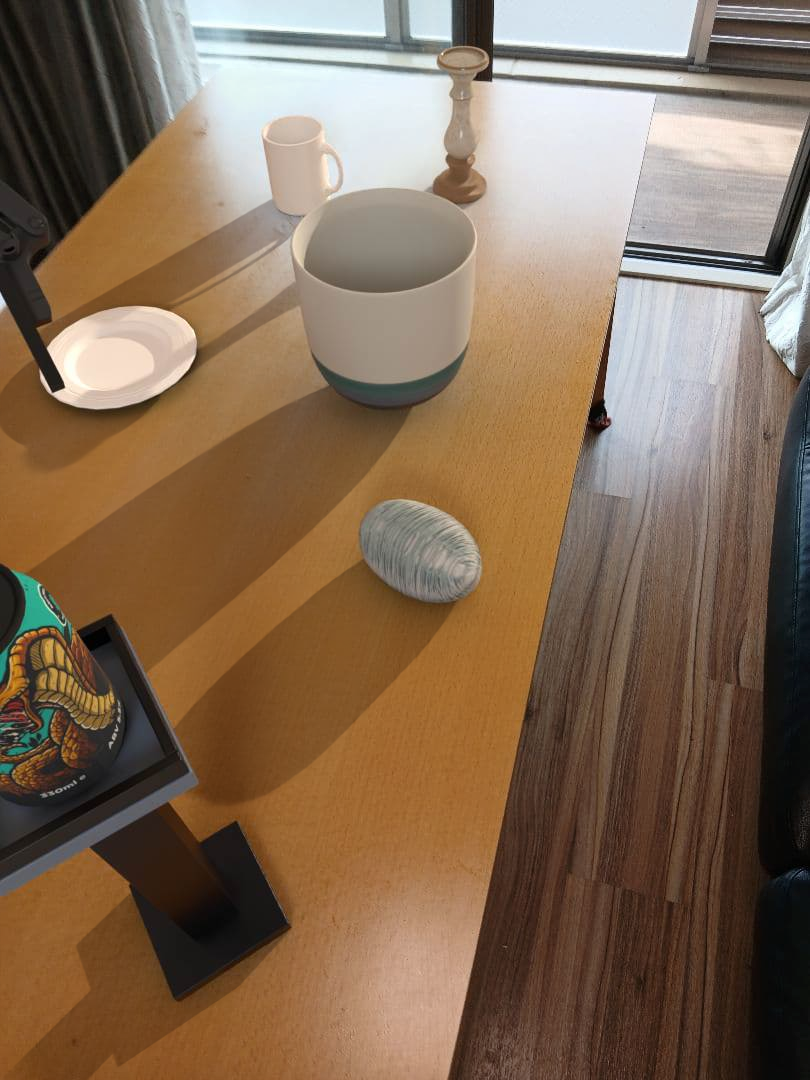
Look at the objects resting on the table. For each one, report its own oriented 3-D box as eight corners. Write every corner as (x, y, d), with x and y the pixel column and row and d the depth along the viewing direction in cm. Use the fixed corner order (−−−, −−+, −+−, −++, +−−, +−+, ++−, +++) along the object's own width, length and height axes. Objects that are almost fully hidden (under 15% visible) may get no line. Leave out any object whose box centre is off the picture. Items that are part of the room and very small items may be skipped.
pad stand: (178, 1002, 64) (-28, 880, 35) (133, 889, 69) (-79, 703, 41) (292, 928, 67) (185, 760, 38) (240, 825, 72) (112, 610, 44)
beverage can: (113, 813, 39) (6, 701, 29) (-32, 812, 39) (-185, 699, 29) (145, 679, 43) (60, 543, 33) (14, 679, 43) (-107, 543, 33)
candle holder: (497, 187, 134) (505, 54, 118) (462, 210, 130) (465, 75, 114) (457, 169, 138) (460, 38, 121) (422, 190, 134) (419, 58, 118)
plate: (39, 431, 103) (33, 420, 101) (48, 328, 115) (43, 317, 114) (204, 403, 105) (201, 392, 103) (196, 306, 117) (192, 294, 116)
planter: (284, 413, 103) (254, 266, 86) (358, 320, 114) (344, 173, 97) (431, 461, 97) (429, 314, 80) (494, 358, 108) (504, 209, 91)
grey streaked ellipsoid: (347, 561, 90) (334, 553, 80) (391, 487, 91) (383, 470, 81) (454, 624, 89) (454, 623, 79) (498, 549, 89) (503, 539, 79)
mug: (277, 186, 136) (265, 115, 127) (348, 185, 136) (342, 113, 126) (270, 218, 130) (257, 146, 121) (345, 217, 130) (338, 144, 121)
